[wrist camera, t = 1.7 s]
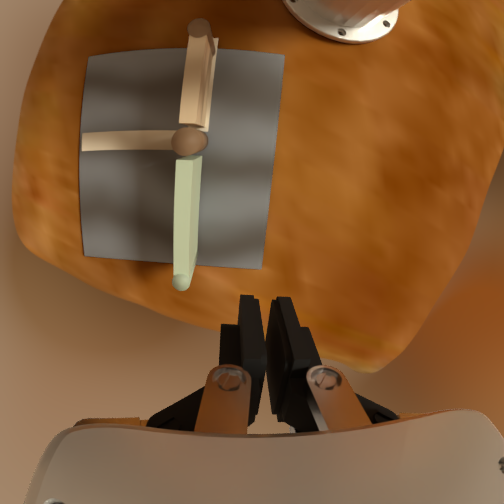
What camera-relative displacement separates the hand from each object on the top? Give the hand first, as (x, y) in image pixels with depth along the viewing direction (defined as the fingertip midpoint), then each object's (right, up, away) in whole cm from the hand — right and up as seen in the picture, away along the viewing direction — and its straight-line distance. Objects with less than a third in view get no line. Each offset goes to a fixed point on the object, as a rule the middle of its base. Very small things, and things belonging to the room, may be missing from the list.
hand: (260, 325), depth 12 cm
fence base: (-8, +12, +13) cm, 20 cm away
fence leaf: (-6, +7, +14) cm, 17 cm away
